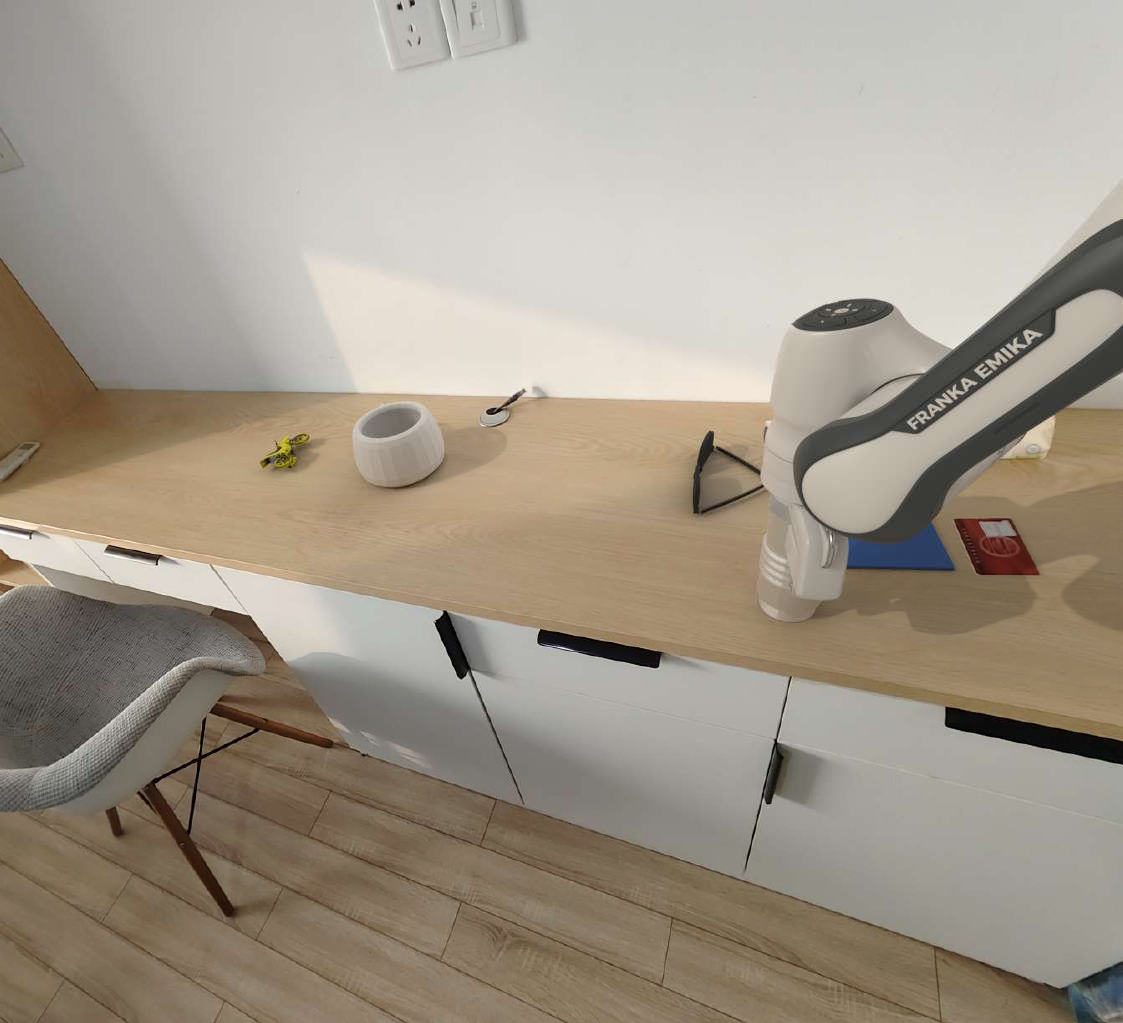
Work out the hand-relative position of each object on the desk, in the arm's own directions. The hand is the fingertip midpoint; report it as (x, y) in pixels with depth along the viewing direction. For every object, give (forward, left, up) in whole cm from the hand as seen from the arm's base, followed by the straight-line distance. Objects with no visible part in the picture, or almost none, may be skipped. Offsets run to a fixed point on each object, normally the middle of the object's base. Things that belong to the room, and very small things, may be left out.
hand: (793, 565), depth 68 cm
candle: (0, 0, -6) cm, 6 cm away
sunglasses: (+2, -23, -6) cm, 24 cm away
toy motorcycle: (+86, -35, -6) cm, 93 cm away
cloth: (-12, -11, -6) cm, 17 cm away
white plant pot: (+60, -33, -6) cm, 69 cm away
